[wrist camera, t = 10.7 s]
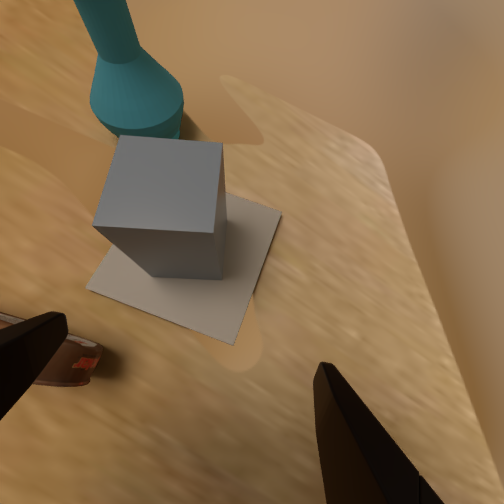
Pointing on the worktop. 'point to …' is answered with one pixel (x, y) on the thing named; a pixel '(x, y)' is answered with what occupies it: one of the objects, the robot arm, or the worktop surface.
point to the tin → (65, 359)
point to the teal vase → (128, 76)
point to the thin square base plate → (198, 290)
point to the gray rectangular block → (167, 206)
